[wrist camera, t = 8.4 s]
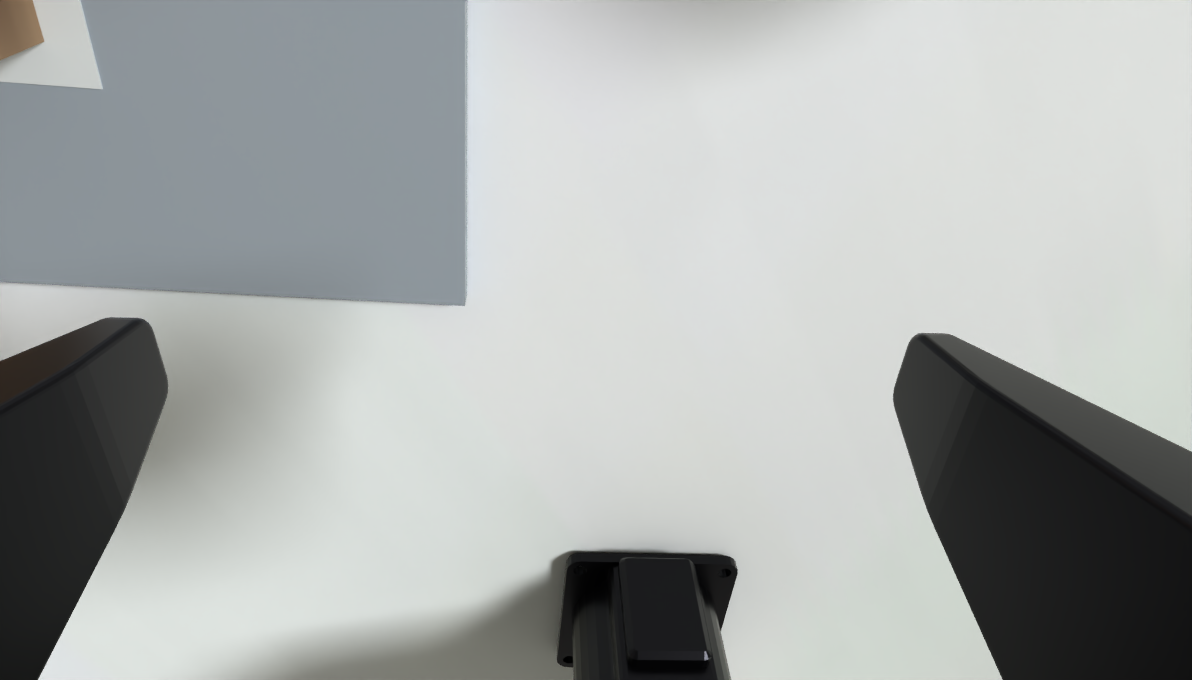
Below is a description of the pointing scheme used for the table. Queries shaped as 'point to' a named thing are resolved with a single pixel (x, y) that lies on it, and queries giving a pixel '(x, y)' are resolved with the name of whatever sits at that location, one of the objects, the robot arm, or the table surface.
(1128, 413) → the table surface
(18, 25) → the base block
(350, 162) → the plate
